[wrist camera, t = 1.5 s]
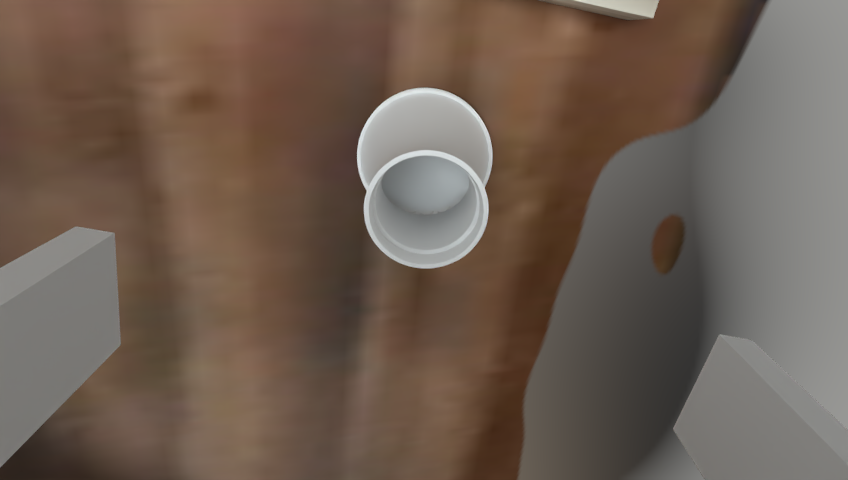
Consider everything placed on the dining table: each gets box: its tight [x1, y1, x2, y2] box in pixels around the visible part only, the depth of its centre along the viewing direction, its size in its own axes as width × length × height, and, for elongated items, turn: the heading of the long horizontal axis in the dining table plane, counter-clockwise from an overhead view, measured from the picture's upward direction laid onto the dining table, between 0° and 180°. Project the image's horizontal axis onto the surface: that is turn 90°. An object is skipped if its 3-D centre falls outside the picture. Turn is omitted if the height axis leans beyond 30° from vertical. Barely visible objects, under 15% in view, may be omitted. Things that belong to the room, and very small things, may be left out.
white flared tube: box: [357, 88, 492, 268], centre depth 24 cm, size 8×8×10 cm
